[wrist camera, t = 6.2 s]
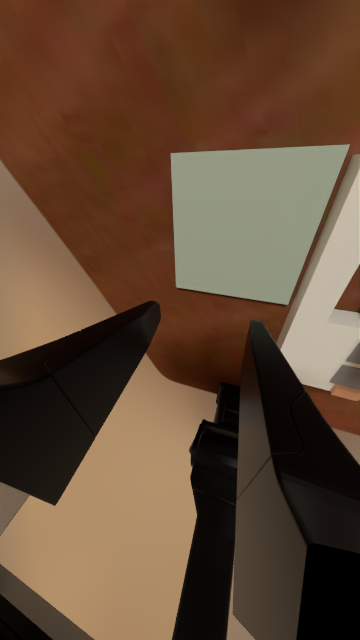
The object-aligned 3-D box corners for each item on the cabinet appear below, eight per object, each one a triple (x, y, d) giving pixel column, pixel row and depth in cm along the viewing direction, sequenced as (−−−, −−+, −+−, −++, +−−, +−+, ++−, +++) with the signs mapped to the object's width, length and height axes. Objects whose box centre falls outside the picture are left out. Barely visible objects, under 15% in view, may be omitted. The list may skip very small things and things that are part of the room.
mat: (287, 301, 20) (287, 304, 20) (178, 284, 23) (176, 287, 23) (347, 144, 12) (349, 144, 12) (173, 153, 16) (170, 153, 15)
